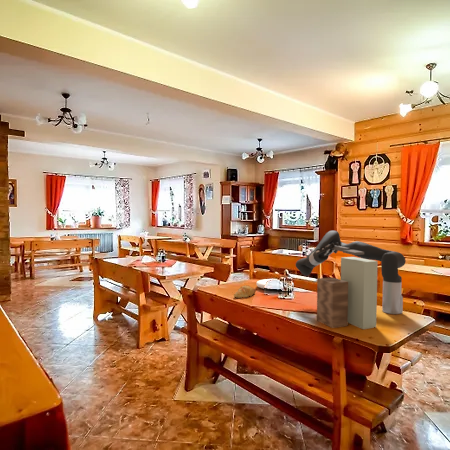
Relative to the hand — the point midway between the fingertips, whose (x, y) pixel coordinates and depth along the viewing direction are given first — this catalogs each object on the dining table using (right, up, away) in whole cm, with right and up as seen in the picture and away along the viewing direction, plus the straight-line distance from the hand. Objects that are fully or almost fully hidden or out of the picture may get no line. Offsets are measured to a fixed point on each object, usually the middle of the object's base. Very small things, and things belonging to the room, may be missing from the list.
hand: (336, 244), depth 174 cm
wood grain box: (-5, -39, -9) cm, 40 cm away
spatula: (+2, -3, -5) cm, 6 cm away
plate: (-22, -36, +66) cm, 78 cm away
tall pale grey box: (+8, -39, -9) cm, 40 cm away
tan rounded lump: (-45, -37, +45) cm, 73 cm away
